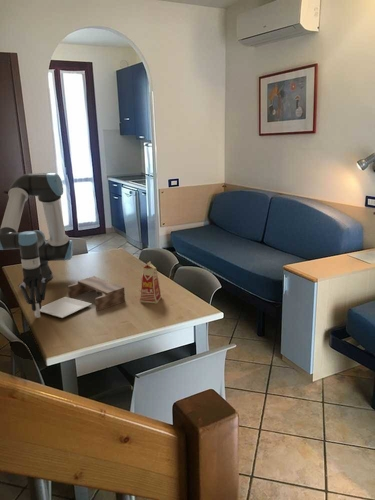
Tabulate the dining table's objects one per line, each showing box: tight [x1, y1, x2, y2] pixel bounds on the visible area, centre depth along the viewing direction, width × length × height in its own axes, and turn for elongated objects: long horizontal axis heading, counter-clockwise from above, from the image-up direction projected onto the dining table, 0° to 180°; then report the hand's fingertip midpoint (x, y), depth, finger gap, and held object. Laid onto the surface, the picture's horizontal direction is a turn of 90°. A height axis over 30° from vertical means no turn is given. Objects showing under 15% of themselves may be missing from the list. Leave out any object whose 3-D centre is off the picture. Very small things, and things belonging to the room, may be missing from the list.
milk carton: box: [138, 261, 162, 304], centre depth 203 cm, size 9×9×20 cm
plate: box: [40, 296, 93, 319], centre depth 195 cm, size 19×19×2 cm
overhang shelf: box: [67, 275, 126, 312], centre depth 207 cm, size 16×26×7 cm, turn 46°
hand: (37, 316), depth 186 cm, fingers closed
